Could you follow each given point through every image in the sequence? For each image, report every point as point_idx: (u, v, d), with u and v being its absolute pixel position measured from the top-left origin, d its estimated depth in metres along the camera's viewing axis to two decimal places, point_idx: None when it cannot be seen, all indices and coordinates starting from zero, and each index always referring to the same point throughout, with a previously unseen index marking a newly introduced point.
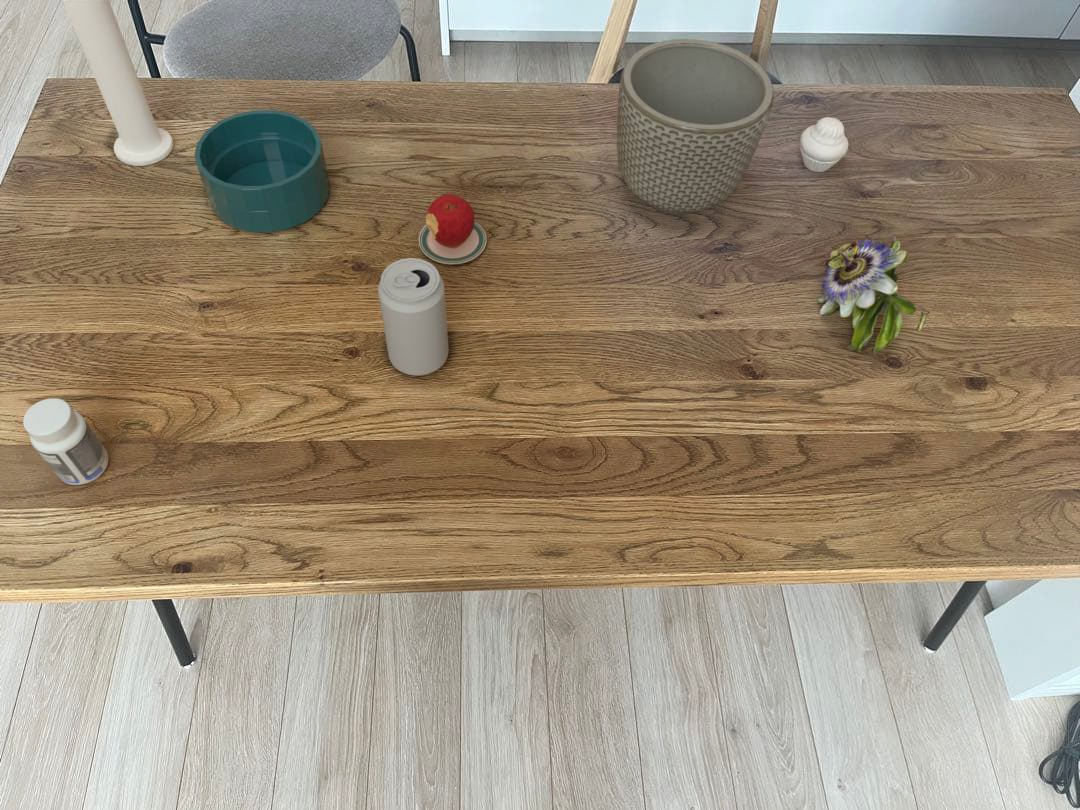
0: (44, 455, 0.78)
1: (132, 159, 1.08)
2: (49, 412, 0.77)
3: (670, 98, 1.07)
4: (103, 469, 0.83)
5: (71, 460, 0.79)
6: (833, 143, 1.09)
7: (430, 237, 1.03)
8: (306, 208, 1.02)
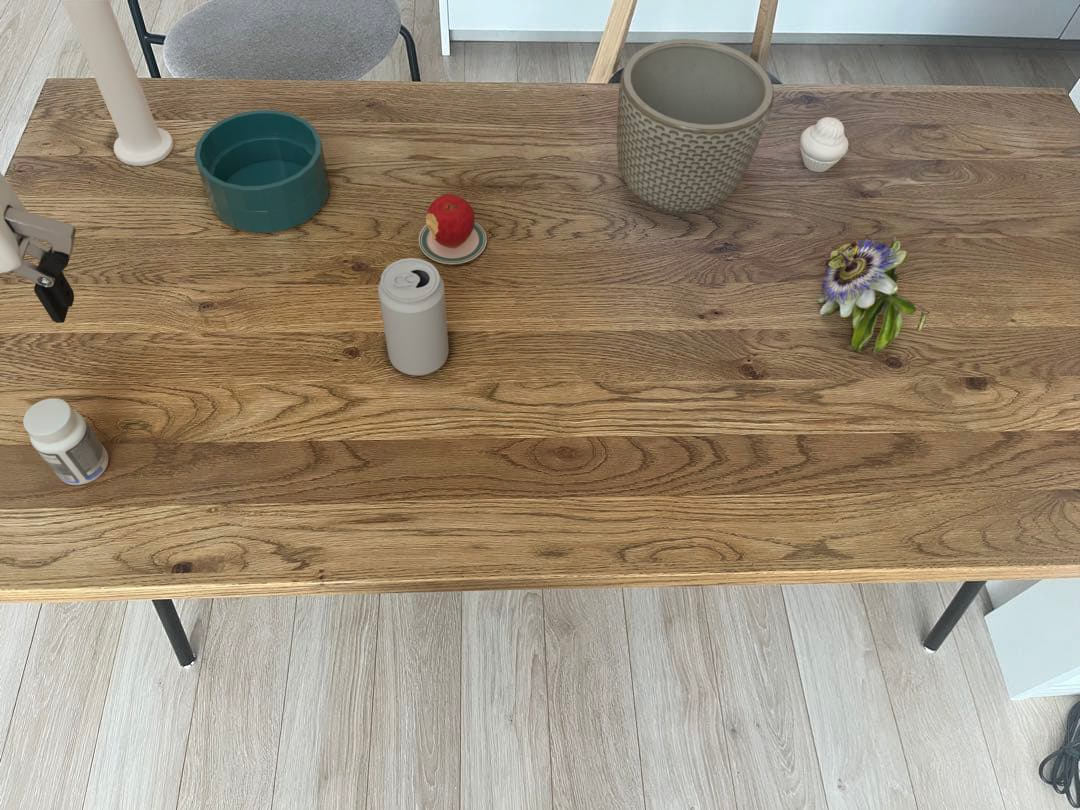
0: (44, 455, 0.78)
1: (132, 159, 1.08)
2: (49, 412, 0.77)
3: (670, 98, 1.07)
4: (103, 469, 0.83)
5: (71, 460, 0.79)
6: (833, 143, 1.09)
7: (430, 237, 1.03)
8: (306, 208, 1.02)
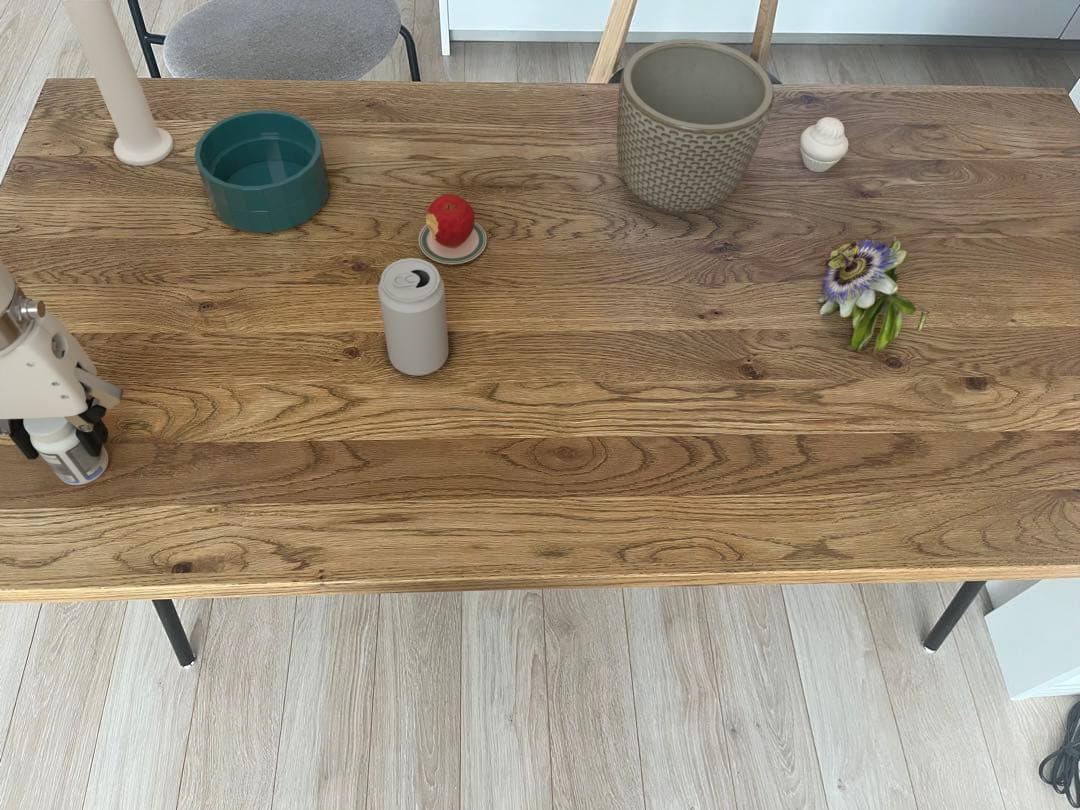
0: (44, 455, 0.78)
1: (132, 159, 1.08)
2: None
3: (670, 98, 1.07)
4: (103, 469, 0.83)
5: (71, 460, 0.79)
6: (833, 143, 1.09)
7: (430, 237, 1.03)
8: (306, 208, 1.02)
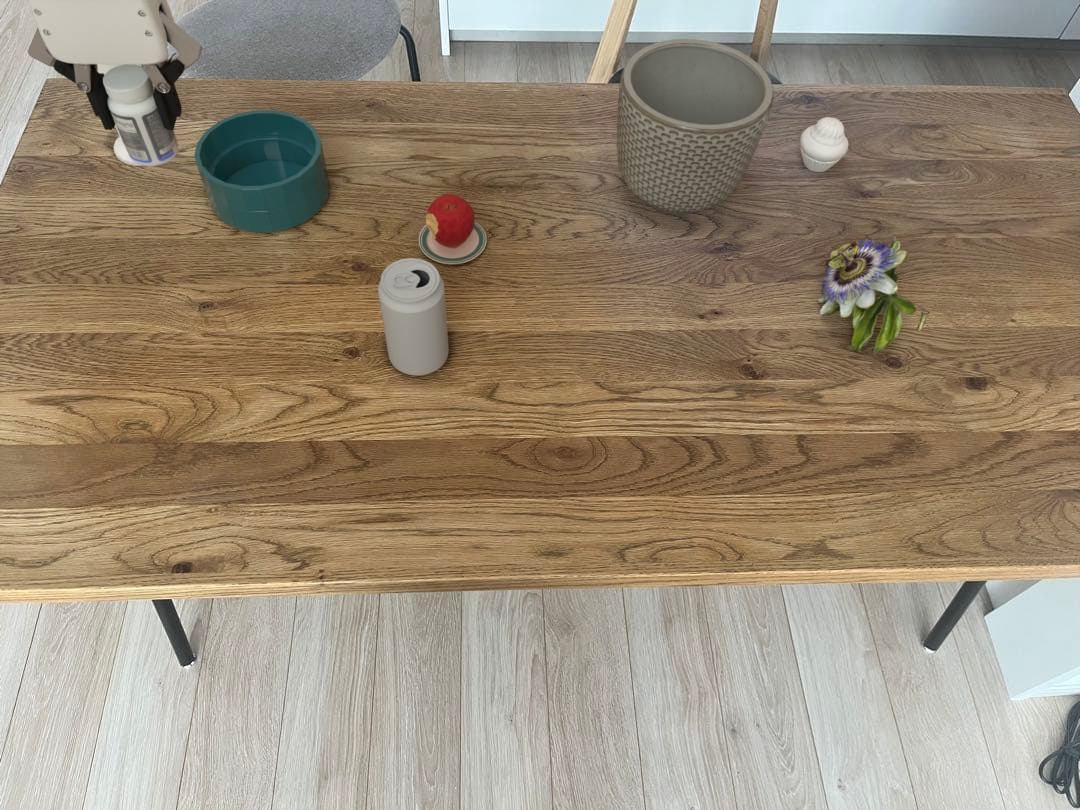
0: (121, 120, 0.80)
1: None
2: (128, 74, 0.79)
3: (670, 98, 1.07)
4: (174, 154, 0.85)
5: (146, 129, 0.81)
6: (833, 143, 1.09)
7: (430, 237, 1.03)
8: (306, 208, 1.02)
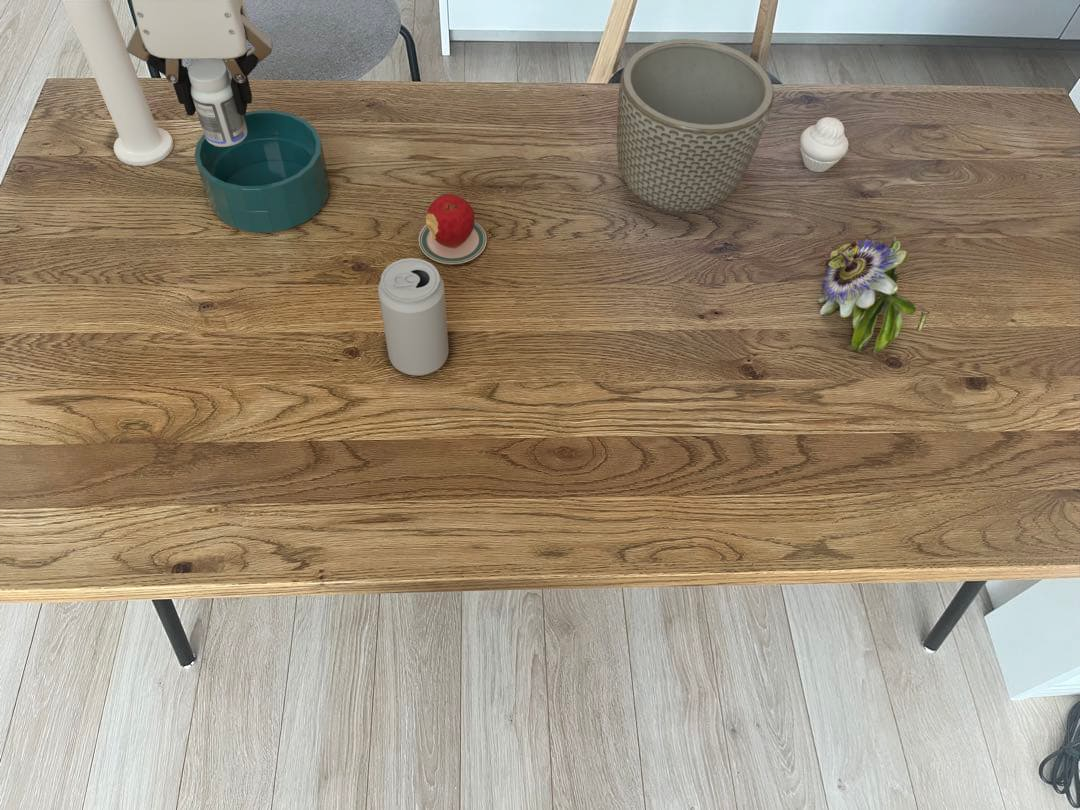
0: (202, 106, 0.93)
1: (132, 159, 1.08)
2: (208, 67, 0.92)
3: (670, 98, 1.07)
4: (244, 136, 0.98)
5: (223, 114, 0.94)
6: (833, 143, 1.09)
7: (430, 237, 1.03)
8: (306, 208, 1.02)
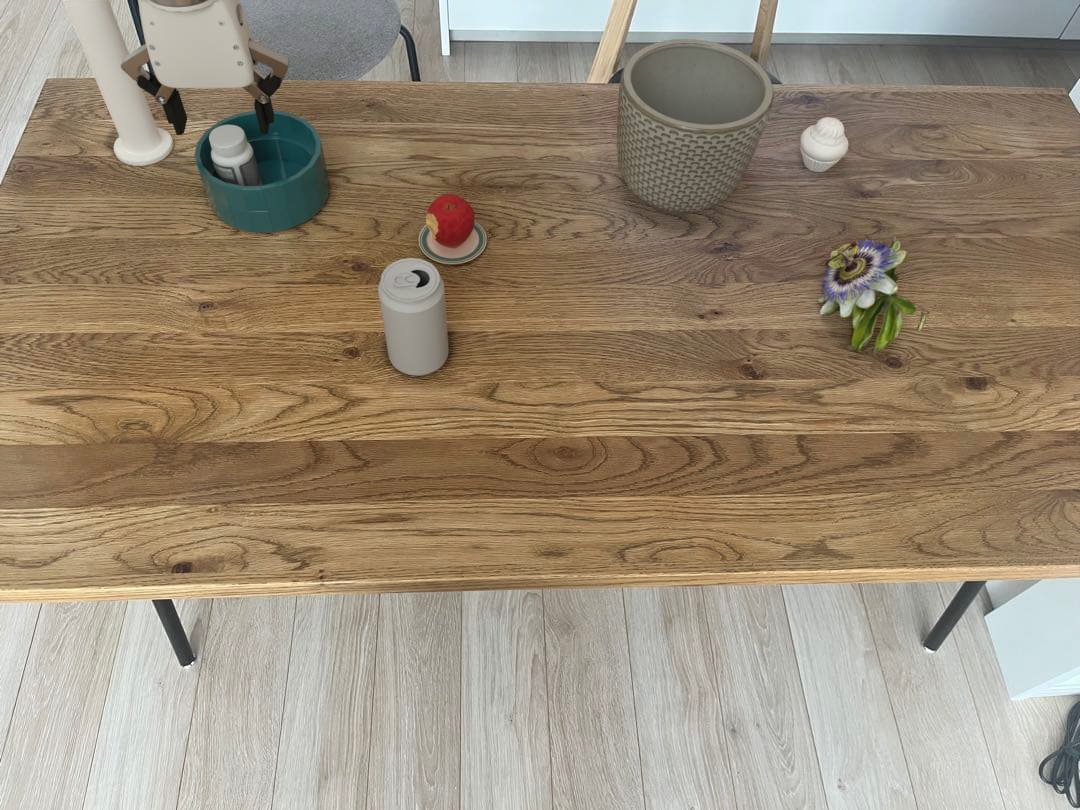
0: (222, 169, 1.00)
1: (132, 159, 1.08)
2: (228, 133, 0.99)
3: (670, 98, 1.07)
4: None
5: (241, 176, 1.01)
6: (833, 143, 1.09)
7: (430, 237, 1.03)
8: (306, 208, 1.02)
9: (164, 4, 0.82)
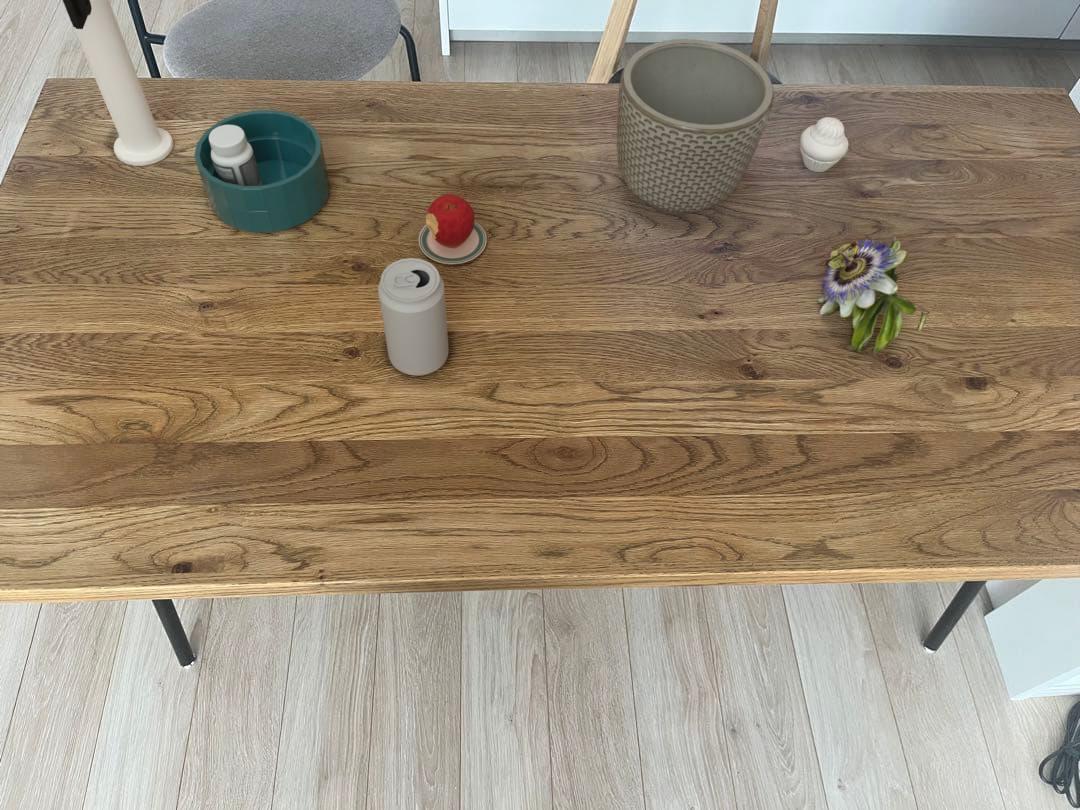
0: (222, 169, 1.00)
1: (132, 159, 1.08)
2: (228, 133, 0.99)
3: (670, 98, 1.07)
4: None
5: (241, 176, 1.01)
6: (833, 143, 1.09)
7: (430, 237, 1.03)
8: (306, 208, 1.02)
9: None
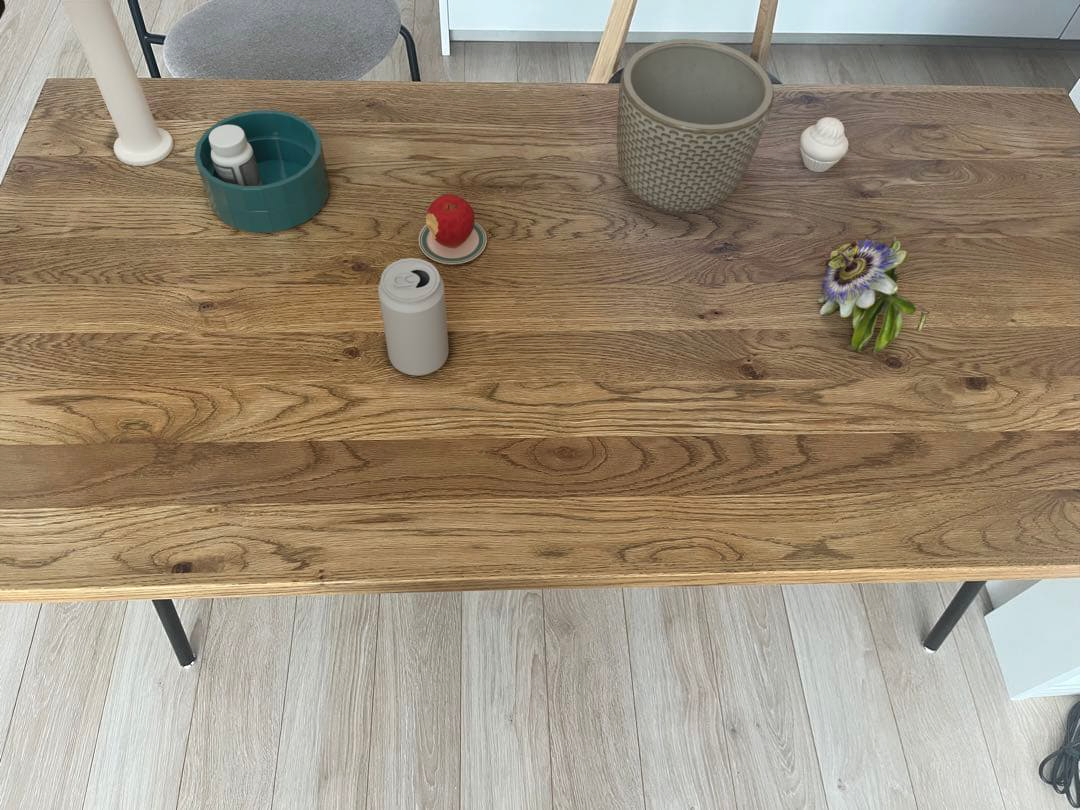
0: (222, 169, 1.00)
1: (132, 159, 1.08)
2: (228, 133, 0.99)
3: (670, 98, 1.07)
4: None
5: (241, 176, 1.01)
6: (833, 143, 1.09)
7: (430, 237, 1.03)
8: (306, 208, 1.02)
9: None
